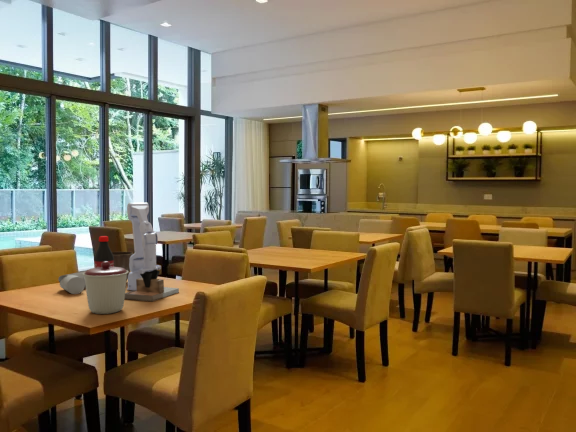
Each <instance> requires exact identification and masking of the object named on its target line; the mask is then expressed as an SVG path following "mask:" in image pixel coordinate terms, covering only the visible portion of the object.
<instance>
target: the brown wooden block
mask: <svg viewBox="0 0 576 432" xmlns="http://www.w3.org/2000/svg"><path fill="white" fill-rule="evenodd" d="M136 286H137V291H143V292H147V293H148V292H154V293H163V292H164V287H165V283H164V279H161V278H157V279H151V281H150V287H149V288H147V287H145V284H144V281H143V278H138V279H136Z"/></svg>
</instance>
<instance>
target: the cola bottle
mask: <svg viewBox="0 0 576 432" xmlns="http://www.w3.org/2000/svg"><path fill="white" fill-rule="evenodd" d="M109 241H110V240H109V236H107V235H100V236H99V237H98V243H99V245H98V247H97V249H96V252H95V255H94V257H93V261H94V263H93V264H94V267H93V268H98V267H102V266H101V263H102V262H104V261H108V262H109V263H110V267H114V257H113V254H112V252H113V251H112V250H111V248H110V246H109Z"/></svg>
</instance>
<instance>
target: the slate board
mask: <svg viewBox="0 0 576 432" xmlns="http://www.w3.org/2000/svg"><path fill="white" fill-rule="evenodd" d="M179 289H180V288H178V287H170V286H169V287H168V286H167V287H165V286H164V292H163V298H166V297H169V296H172V295H175V294H178V293H179V292H180V291H179Z"/></svg>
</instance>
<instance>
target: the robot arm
mask: <svg viewBox="0 0 576 432" xmlns="http://www.w3.org/2000/svg"><path fill="white" fill-rule="evenodd" d="M126 209H127V210H126V213H127V214H126V215H127V219H128V220H129V221H131V224H132V225H131V226H132V236H133V237H132V238H133V249H134V253H133V255H132V256H131V257H130V259H129V268H130V273H129V275H128V279H127V288H126V290H127V291H134V290H136V291H137V286H136V279H138V278H143V281H144V284H145V287H147V288H149V287H150V281H151V279H158V277H159V274H160V272H161V271H160V270H161V269H162V266H161V265H159V264H157V245H158V242H159V241H158V234H157V232H156V231H154V228H153V226H152V223H151V222H149V218H148V214H149V212H150V205H149V203H148V202H128V203H127V207H126Z"/></svg>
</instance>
